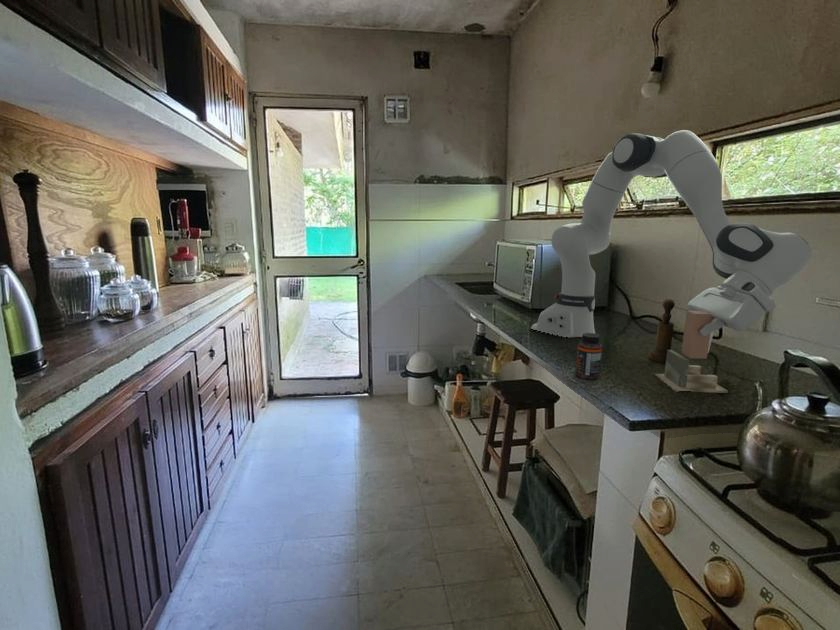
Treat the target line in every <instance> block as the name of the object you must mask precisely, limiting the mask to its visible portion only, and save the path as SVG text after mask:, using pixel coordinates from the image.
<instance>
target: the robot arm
mask: <svg viewBox="0 0 840 630" xmlns="http://www.w3.org/2000/svg"><path fill="white" fill-rule="evenodd" d="M637 176H640V177H643V178H652V179H656V178H657V179H659V178H666V177H668V180H669V181H670V183H671V185H672V186H673V187H674V189H675V190H676V192H677V194H678V195H679V196H680V197H681V199H682V201H684V203H685V204H686V206H687V207H688V208H689V210H690V211H691V213H692V214H693V215H694V217H695V219H696V221H697V223H698V225H699V226H700V229H701V230H702V232H703V235H704V236H705V238H706V240H707V241H708V243H709V246H710V248H711V251H712V268H713V270H714V272H715V273H716V274H717V275H718V276H719V277H721V278H723V279H725V280H724V281H723V282H722V283H720V285H718V286H717V287H716V286H715V287H710V288H707V289H704V290H703V291H701V293H699V294H697V295H696V296H695V297H694V298H692V299H691V300H690V301H688V303H687V305H686V307H687V309H688V311H704V312H707V313H710V314H711V316H713V318H712V322H711V323H709V324H707V325H705V326H701V327H700V328H699V329H698V332H699V333H700V334H701V335H703V336H707V335H708V334H709V333H710V332H713V331H714V332H715V331H718V330H721V328H723V327H725V328H729V329H731V330H733V331H737V332H741V331H746V330H747V329H749V328H751V327H752V326H753V325H755V324H756V323H758V321H760V320H761V319H762V318H763V317H764V316H765V315H766V314H767V313H771V312H772V311H773V310H775V309H776V307H777V306H776V304H775V303H774V301H773V300H772V299H771V296H772V295H773V293H774V292H775V291H776V290H777V288H779V287H780V286H782V285H785V284H788V282H790V281H791V280H792V279H793V278H794V277H795V276H797V275H798V273H800V272H801V271H802V270H803V269H804V268H805V267H806V266H807V265H808V264H809V262H810V261H811V259H812V250H811V249H812V248H811V247H810V245H809V243H808V242H807V241H806V240H805V239H804V238H803V237H802V236H800V235H798V234H796V233H794V232H776V231H771V230H767V229H763V228H760V227H758V226H756V225H754V224H752V223H750V222H743V221H741V222H740V221H739V222H735V223H734V222H733V223H731V221H730V220H729V218H728V216H727V214H726V212H725V210H724V204H723V197H722V195H723V193H722V192H723V191H722V189H723V188H722V187H723V184H722V183H723V181H722V180H723V179H722V178H723V176H722V172H721V169H720V167H719V164H718V161H717V159H716V158H715V156H714V155H713V153H712V151H711V150H710V148H709V147H708V146H707V145H706V144H705V143H704V142H703V140H702V139H700V137H698V136H697V134H695V133H694V132H693V131H691V130H687V129H683V130H678V131H674V132H672V133H671V134H669V135H667V137H666V138H662V137H659V136H653V135H646V134H643V133H637V132H636V133H626V134H624V135H622V136H621V137H620V138H619V139H618V140H617V141H616V142H615V144H614V146H613V148H612V151H611V152H609V153H608V154H607V155H606V156H605V158H604V160H603V161H602V163H601V164H600V165H599V167H598V169H597V171H596V173H595V174H594V176H593V178H592V181H591V182H590V183H589V184H590V185H589V186H588V188H587V191H586V193H585V194H584V197H583V198H582V202H581V205H582V208H583V213H582V218H581V221H580V222H579V223H567V224H564V225H562V226H559V227H557V228H556V229H555V230H554V231H553V233H552V235H551V239H550V240H551V247H552V249H553V250H554V252H555V253H556V254H557V255H558V258H559V261H560V267H561V273H562V274H561V275H562V276H561V292H559V293H558V294H556V295H555V296H554V300H555V302H554V303H553V304H551V305H550V306H548V307H547V308H545V309H544V310H542V311H541V312H540V314H539V316H538V320H537V322H536V323H533V324H532V325H531V327H530V330H531V329H533V330H537V331H536V332H538V331H541V332H540V333H543V332H545V333H544V334H547V333H549V335H552V334H553V336H557V335H558V336H557V337H561V336H562V338H566V337H568V339H569V338H582V336H583V334H584V333H594V334H596V331H595V329H596V328H595V325H594V323H595V322H594V310H595V304H596V295H595V286H596V276H597V274H596V272H595V270H594V269H593V267H592V265H591V261H590V255H596V254H599V253H602V252H603V251H605V250H606V249H607V248H608V247H609V246H610V244H611V241H612V236H611V235H612V234H611V226H612V221H613V218H614V216H615V213H616V211H617V209H618V207H619V206H620V203H621V201H622V199H623V198H624V195H625V193H626V191H627V190H628V188H629V185H630V183H631V182H632V181H633V179H635V178H636V177H637ZM533 330H532V331H533ZM714 332H713V333H714Z"/></svg>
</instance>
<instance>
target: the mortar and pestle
mask: <svg viewBox="0 0 840 630" xmlns="http://www.w3.org/2000/svg"><path fill="white" fill-rule="evenodd" d="M674 307H675V301H674V299H671V298H669V299H668V298H667V299H664V300H663V302H662V308H663V310H664V313H663V314H662V321H658V322H657V323H658V324H657V332H656V343H655V347H653V348H652V349H651V350H650V351H649V359H650V360H652V361H654V362H658V363H662V364H663V363H664V364H666V358H667V350H672V343H673V342H672V341H673V333H674V326H675V323H674V322H671V321H670V320H671V318H672V314H671V312H672V310H673V308H674Z"/></svg>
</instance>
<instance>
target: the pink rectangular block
mask: <svg viewBox="0 0 840 630" xmlns="http://www.w3.org/2000/svg"><path fill="white" fill-rule="evenodd" d="M685 314H686V315H685V319H686V320H685V321H684V329H683V335H682V336H683V338H682V343H681V344H682V346H681V353H680V355H682V356H684V357H686V358H687V359H704V360H705V359H708V354H709V353H708V347H709V340H710V333H709V334H708V335H707V336H703V335H701V334H700V333H699V332H698V329H699V328H700V327H701V326H705V325H707V324H709V323H711V322H712V318H713V316H711V314H710V313H707V312H704V311H690V310H686V313H685Z"/></svg>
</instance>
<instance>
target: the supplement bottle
mask: <svg viewBox="0 0 840 630" xmlns="http://www.w3.org/2000/svg"><path fill="white" fill-rule="evenodd" d="M581 339H582V340H581V341H579V342H577V351H576V362H575V364H576V365H575V375H576V376H577V377H578V376H579V377H578V378H580V377H581V379H583V380H584V379H585V380H597V379H598V378H600V374H601V364H602V356H603V355H602V353H603V345H602V344H601V343H600V342H599V340H600V334H597V333H595V334H594V333H584V334H583V336H582V337H581Z"/></svg>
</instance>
